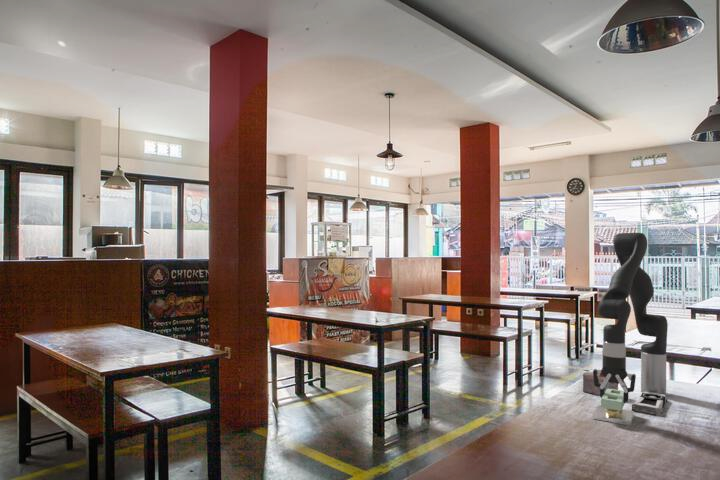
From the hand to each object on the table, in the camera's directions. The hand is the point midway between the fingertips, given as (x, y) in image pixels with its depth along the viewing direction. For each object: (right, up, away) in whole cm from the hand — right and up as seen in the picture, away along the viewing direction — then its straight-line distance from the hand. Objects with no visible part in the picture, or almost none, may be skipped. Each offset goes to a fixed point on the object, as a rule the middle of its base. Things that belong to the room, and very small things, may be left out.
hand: (614, 400), depth 179 cm
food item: (+9, -7, +29) cm, 31 cm away
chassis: (0, -6, 0) cm, 6 cm away
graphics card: (+22, -7, +13) cm, 26 cm away
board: (0, -1, 0) cm, 1 cm away
